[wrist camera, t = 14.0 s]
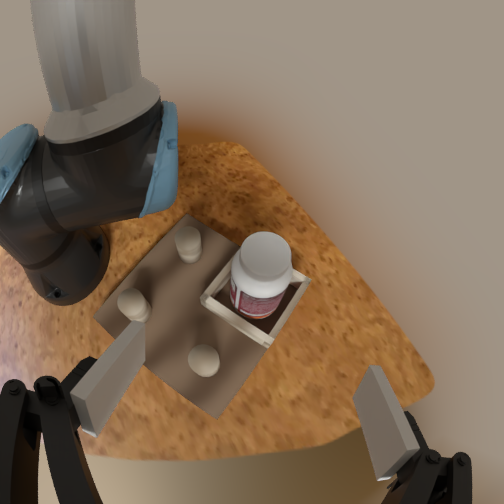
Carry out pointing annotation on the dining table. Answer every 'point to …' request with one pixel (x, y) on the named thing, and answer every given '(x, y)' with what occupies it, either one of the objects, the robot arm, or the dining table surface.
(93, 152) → the robot arm
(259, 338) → the wooden organizer tray
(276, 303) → the pill bottle
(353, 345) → the dining table surface
